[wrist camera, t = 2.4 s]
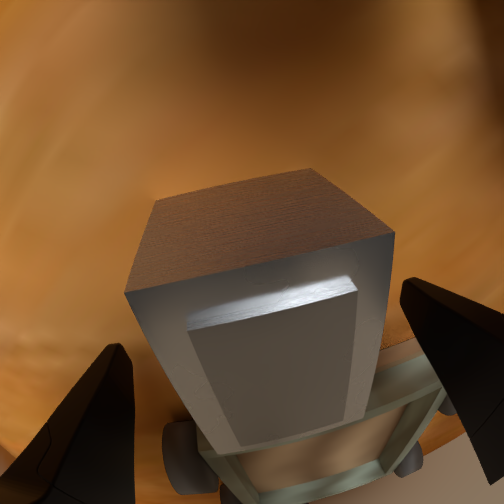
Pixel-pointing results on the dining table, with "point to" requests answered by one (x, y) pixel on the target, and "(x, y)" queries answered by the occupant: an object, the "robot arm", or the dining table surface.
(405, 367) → the chassis
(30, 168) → the dining table surface
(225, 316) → the grey box with ledge
